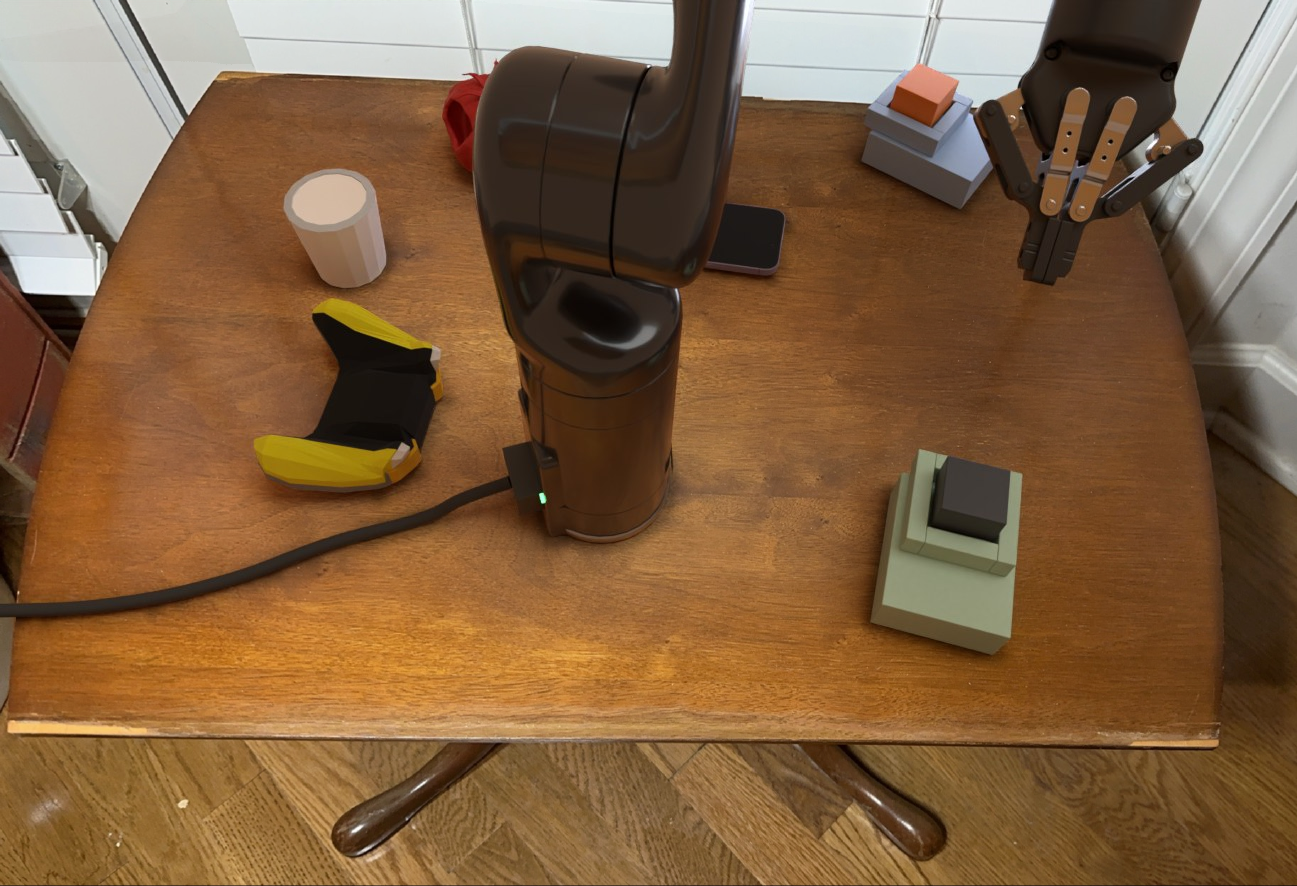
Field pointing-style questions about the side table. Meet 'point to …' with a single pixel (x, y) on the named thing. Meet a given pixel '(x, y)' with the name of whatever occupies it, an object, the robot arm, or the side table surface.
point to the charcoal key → (971, 498)
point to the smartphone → (748, 240)
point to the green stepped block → (944, 568)
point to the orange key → (924, 94)
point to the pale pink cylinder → (338, 225)
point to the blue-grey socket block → (928, 148)
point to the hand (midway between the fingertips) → (1037, 282)
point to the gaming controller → (361, 408)
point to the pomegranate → (463, 115)
